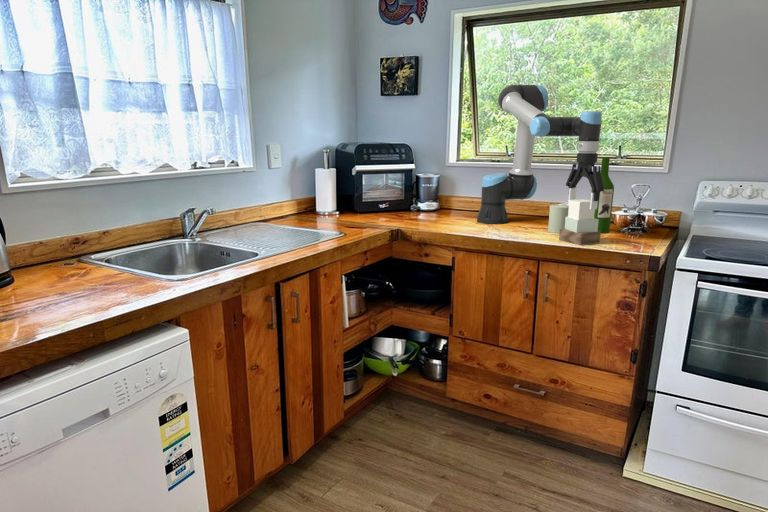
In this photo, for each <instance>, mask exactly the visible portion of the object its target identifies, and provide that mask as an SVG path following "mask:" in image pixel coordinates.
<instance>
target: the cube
mask: <svg viewBox="0 0 768 512" xmlns="http://www.w3.org/2000/svg"><path fill="white" fill-rule="evenodd" d="M568 200H569V199H568ZM590 201H591V199H575V200H569V211H568V217H570V218H573V219H577V220H586V219H594V214H595V209H592V210H591V209H590Z"/></svg>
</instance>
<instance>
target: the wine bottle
mask: <svg viewBox="0 0 768 512" xmlns="http://www.w3.org/2000/svg"><path fill="white" fill-rule="evenodd" d="M601 158H602V159H601V166H600V167H601V169H600V173H601V177H602V182H603V187H604V191H602V192H600V193H599V200H598V204H597V209H595V214H594V218H595V219H599V221H598V231H601V234H609V232H610V230H611V219H612V212H613V210H612V209H613V202H614V200H613V199H614V192H615V185H614V184H613V181H612V180H611V178H610V176H609V170H610V159H611V158H610V157H609V156H603V157H601ZM592 191H593V190H592V189H591V192H592Z"/></svg>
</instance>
